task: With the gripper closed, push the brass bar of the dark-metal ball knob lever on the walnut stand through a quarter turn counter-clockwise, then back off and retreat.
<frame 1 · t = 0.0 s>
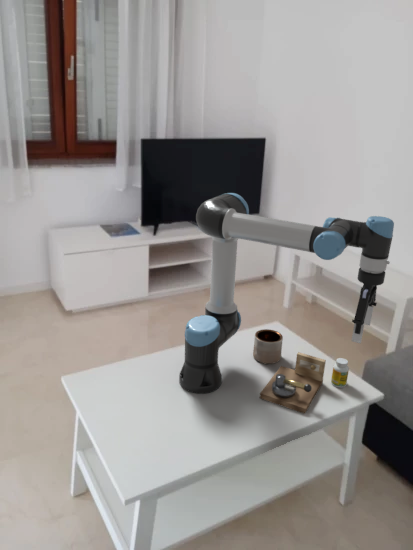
hand: (361, 332, 148), 28 cm above the table, fingers open, 13 cm apart
stand: (291, 390, 165), on the table
planter: (266, 357, 186), on the table
supplement bottle: (338, 384, 171), on the table
ball knob lever: (291, 386, 159), point 5 cm above the table, hinge at 0.0°
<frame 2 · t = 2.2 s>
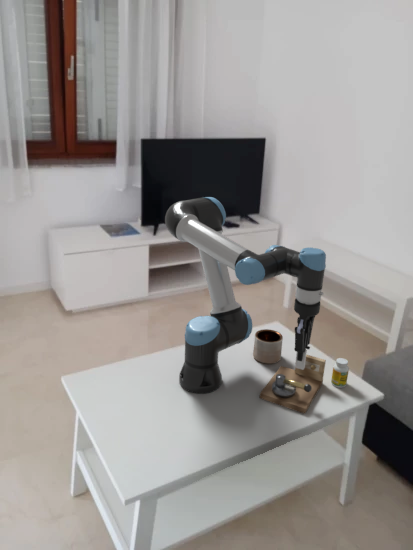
hand: (299, 367, 150), 16 cm above the table, fingers closed
nothing on the table moved.
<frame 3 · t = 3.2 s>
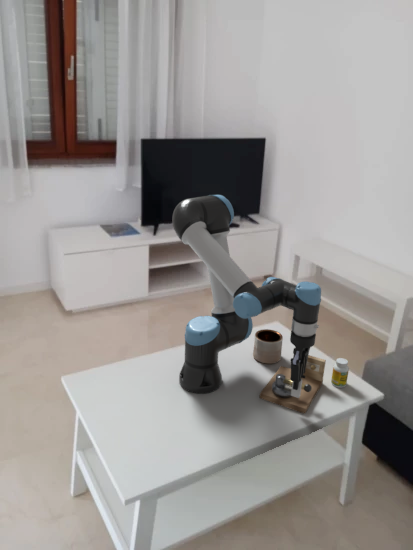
hand: (295, 395, 154), 5 cm above the table, fingers closed
nothing on the table moved.
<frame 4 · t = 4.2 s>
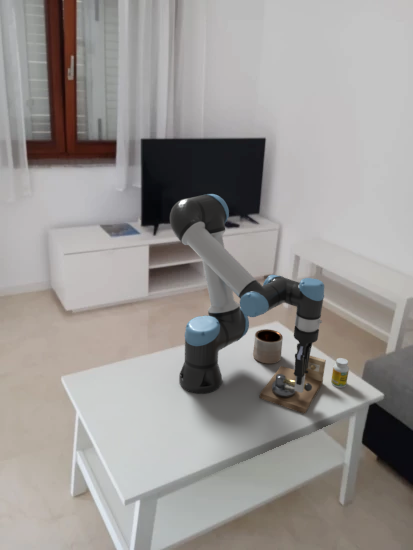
hand: (298, 390, 157), 5 cm above the table, fingers closed
ball knob lever: (291, 386, 159), point 5 cm above the table, hinge at 3.2°, touching gripper
everything else where it was.
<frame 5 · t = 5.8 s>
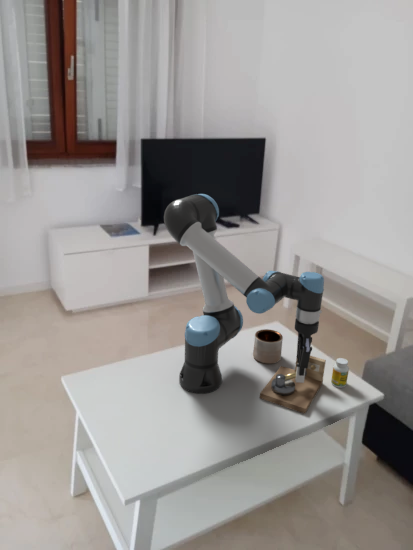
hand: (299, 381, 162), 5 cm above the table, fingers closed
ball knob lever: (290, 380, 163), point 5 cm above the table, hinge at 55.4°, touching gripper
everything else where it was.
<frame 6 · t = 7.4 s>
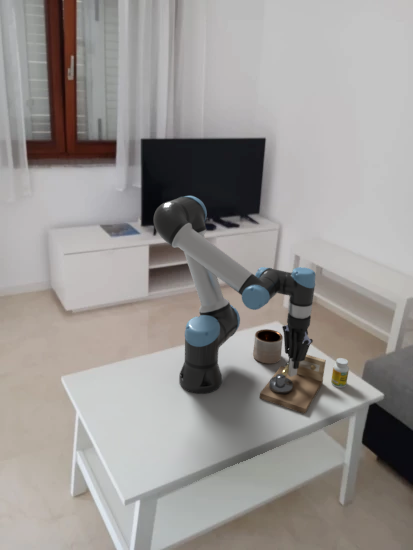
hand: (292, 374, 165), 5 cm above the table, fingers closed
ball knob lever: (283, 377, 164), point 5 cm above the table, hinge at 92.2°, touching gripper
everything else where it was.
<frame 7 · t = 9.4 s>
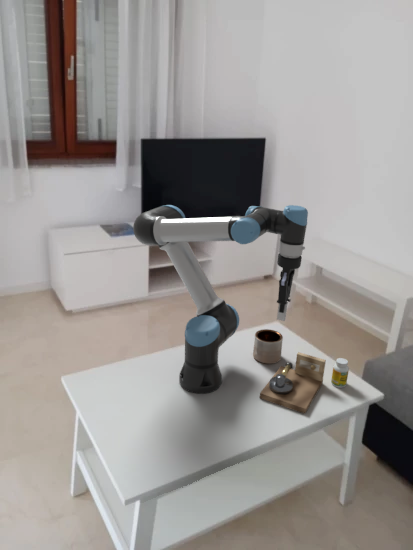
hand: (281, 319, 161), 25 cm above the table, fingers closed
ball knob lever: (283, 377, 164), point 5 cm above the table, hinge at 92.2°
everything else where it was.
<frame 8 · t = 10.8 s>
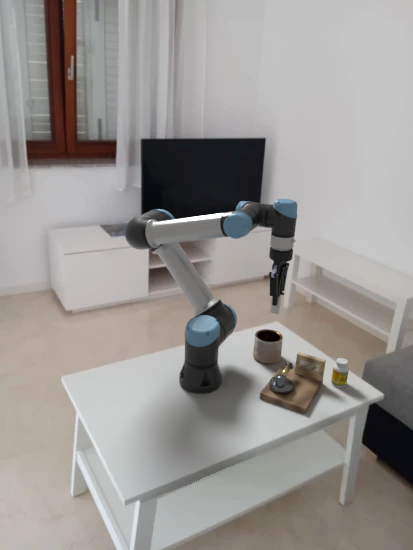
hand: (275, 312, 163), 26 cm above the table, fingers closed
nothing on the table moved.
at the end: ball knob lever at +92° (first picture: +0°); supplement bottle moved 0.2 cm from its start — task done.
